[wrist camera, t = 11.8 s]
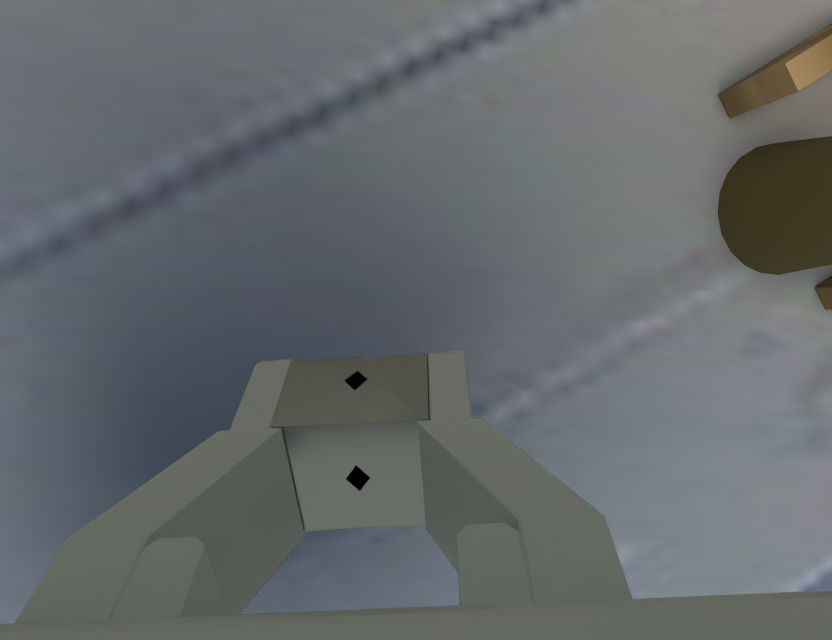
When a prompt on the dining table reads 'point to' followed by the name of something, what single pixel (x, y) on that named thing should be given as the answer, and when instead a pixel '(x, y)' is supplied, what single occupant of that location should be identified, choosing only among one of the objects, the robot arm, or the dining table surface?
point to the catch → (785, 90)
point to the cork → (780, 206)
